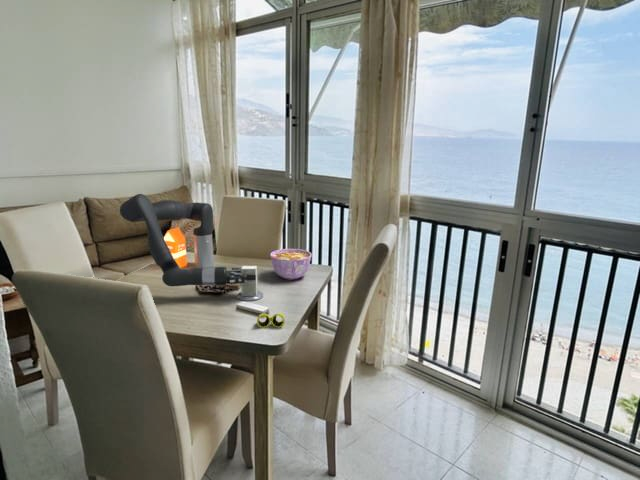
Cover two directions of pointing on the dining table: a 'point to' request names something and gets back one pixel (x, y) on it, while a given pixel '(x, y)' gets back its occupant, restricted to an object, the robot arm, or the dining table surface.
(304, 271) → the bowl of food
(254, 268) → the skincare box
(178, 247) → the orange juice
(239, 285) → the pocket block
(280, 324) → the opera glasses
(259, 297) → the slate coaster
